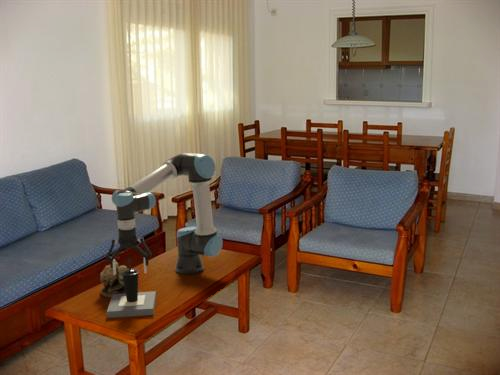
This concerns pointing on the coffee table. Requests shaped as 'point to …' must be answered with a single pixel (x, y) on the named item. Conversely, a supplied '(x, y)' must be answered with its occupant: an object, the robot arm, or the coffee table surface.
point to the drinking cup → (131, 283)
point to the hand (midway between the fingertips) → (130, 273)
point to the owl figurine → (112, 281)
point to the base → (132, 305)
